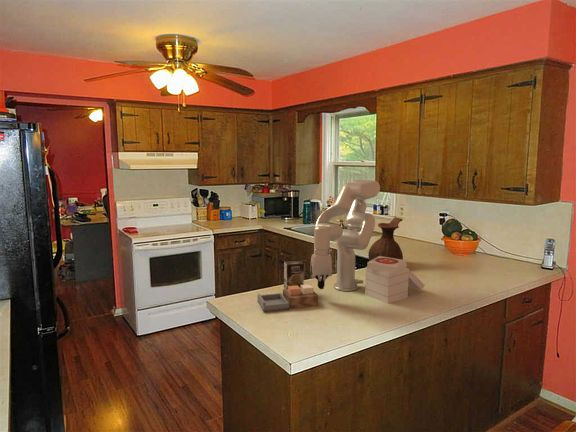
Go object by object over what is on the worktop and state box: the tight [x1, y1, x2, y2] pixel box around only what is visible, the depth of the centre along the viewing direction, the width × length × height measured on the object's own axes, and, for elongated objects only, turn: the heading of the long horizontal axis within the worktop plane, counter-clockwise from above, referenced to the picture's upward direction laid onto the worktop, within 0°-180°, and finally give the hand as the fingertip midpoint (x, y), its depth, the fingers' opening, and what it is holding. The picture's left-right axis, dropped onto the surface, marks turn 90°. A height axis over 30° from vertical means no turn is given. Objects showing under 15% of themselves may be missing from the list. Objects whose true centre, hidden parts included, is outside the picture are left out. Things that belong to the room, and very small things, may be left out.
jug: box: [368, 216, 404, 261], centre depth 258 cm, size 22×22×30 cm
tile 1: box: [288, 285, 301, 295], centre depth 197 cm, size 5×5×3 cm
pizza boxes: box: [364, 256, 425, 304], centre depth 209 cm, size 19×30×18 cm, turn 125°
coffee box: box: [283, 260, 305, 290], centre depth 211 cm, size 9×6×16 cm
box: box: [257, 292, 290, 313], centre depth 194 cm, size 12×14×4 cm
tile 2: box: [300, 283, 315, 294], centre depth 198 cm, size 5×5×3 cm
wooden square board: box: [282, 289, 319, 309], centre depth 198 cm, size 14×12×5 cm
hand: (321, 288), depth 200 cm, fingers closed
